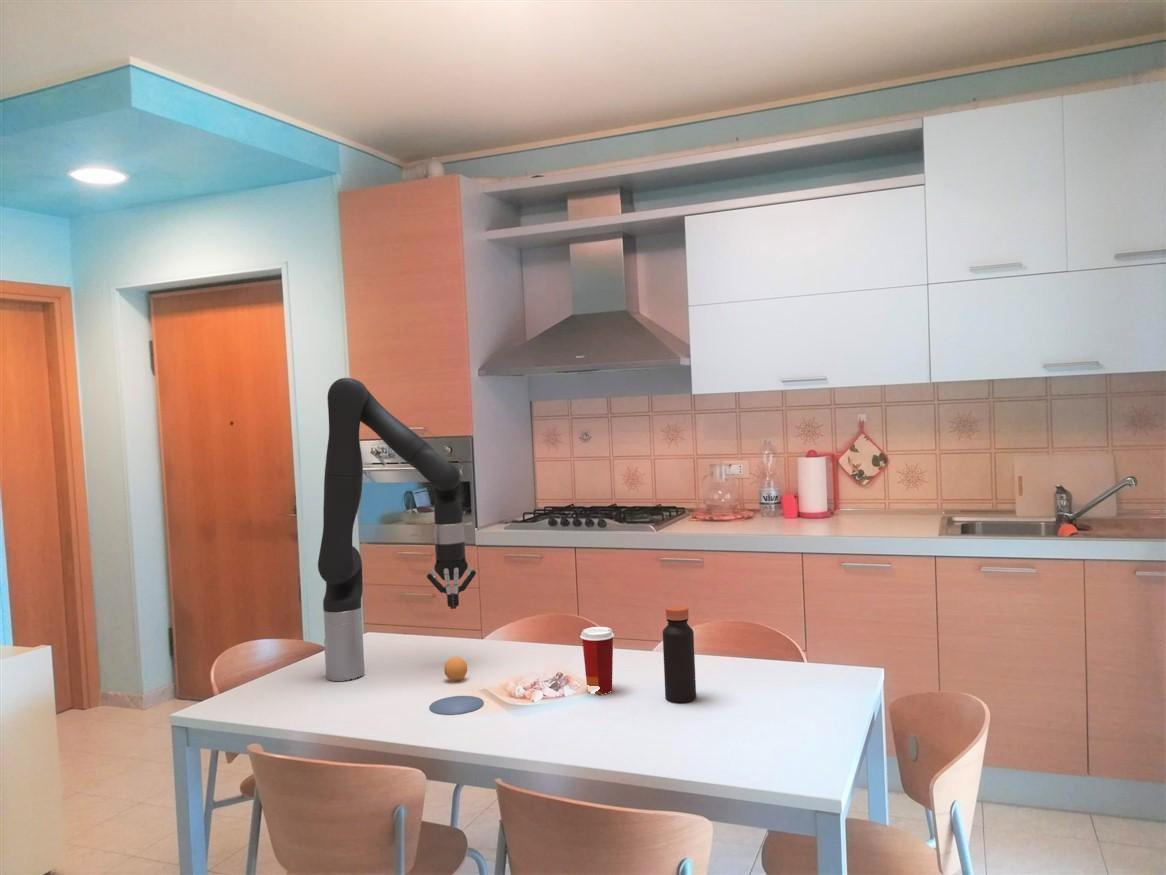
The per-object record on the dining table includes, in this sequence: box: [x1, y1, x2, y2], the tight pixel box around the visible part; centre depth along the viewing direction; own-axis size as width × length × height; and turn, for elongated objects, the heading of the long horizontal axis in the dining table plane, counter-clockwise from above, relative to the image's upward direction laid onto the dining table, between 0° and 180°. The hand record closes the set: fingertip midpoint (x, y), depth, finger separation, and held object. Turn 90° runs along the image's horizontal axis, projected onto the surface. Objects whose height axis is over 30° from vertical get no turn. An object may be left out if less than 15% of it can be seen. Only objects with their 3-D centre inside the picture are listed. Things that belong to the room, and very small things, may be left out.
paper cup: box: [579, 626, 615, 695], centre depth 197 cm, size 8×8×14 cm
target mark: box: [428, 695, 485, 716], centre depth 191 cm, size 12×12×1 cm
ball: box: [443, 656, 468, 682], centre depth 210 cm, size 6×6×6 cm
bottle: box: [662, 605, 697, 704], centre depth 189 cm, size 7×7×20 cm
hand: (453, 608), depth 219 cm, fingers closed
